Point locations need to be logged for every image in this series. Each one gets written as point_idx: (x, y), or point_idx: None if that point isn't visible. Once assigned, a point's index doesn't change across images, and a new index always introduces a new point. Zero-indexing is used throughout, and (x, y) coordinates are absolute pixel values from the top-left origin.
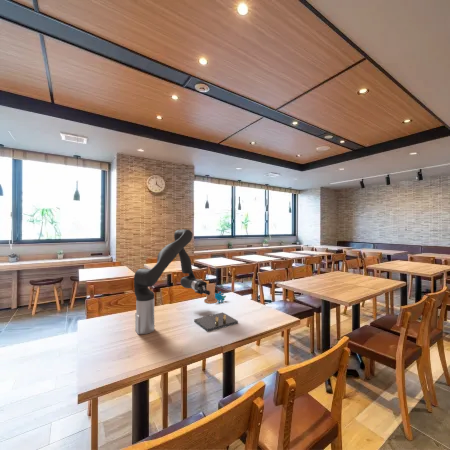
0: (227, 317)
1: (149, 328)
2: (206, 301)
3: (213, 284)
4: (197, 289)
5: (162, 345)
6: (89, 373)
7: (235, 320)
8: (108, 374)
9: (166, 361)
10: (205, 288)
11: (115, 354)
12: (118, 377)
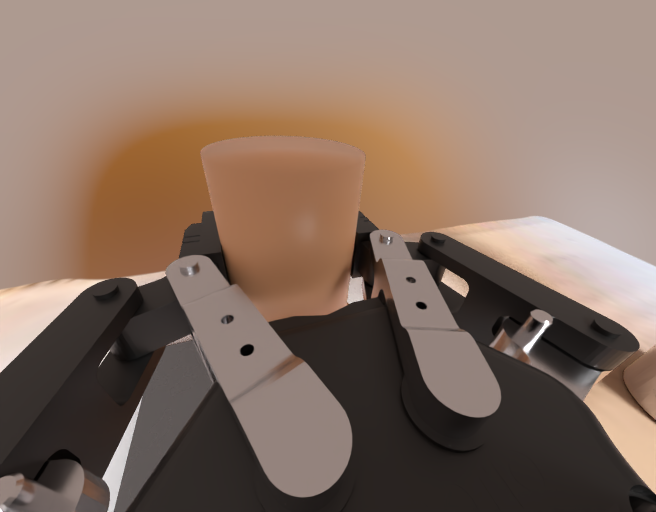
0: (167, 421)
1: (642, 355)
2: (348, 304)
3: (236, 146)
4: (521, 283)
5: None
6: (579, 237)
7: (162, 356)
8: (537, 229)
9: (443, 232)
10: (367, 304)
11: (598, 272)
12: (510, 222)
